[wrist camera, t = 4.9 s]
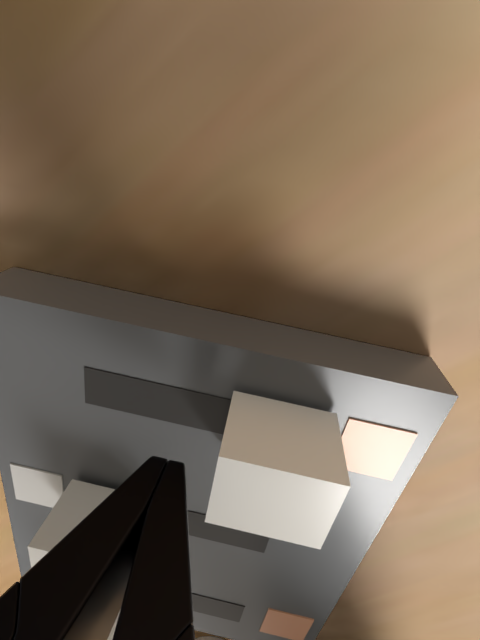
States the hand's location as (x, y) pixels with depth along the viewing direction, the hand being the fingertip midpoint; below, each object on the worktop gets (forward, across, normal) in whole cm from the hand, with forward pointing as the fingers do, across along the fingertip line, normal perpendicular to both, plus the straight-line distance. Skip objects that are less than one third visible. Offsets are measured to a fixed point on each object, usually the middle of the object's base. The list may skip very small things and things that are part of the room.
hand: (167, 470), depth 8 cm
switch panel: (+4, 0, +6) cm, 7 cm away
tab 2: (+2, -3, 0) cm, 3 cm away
